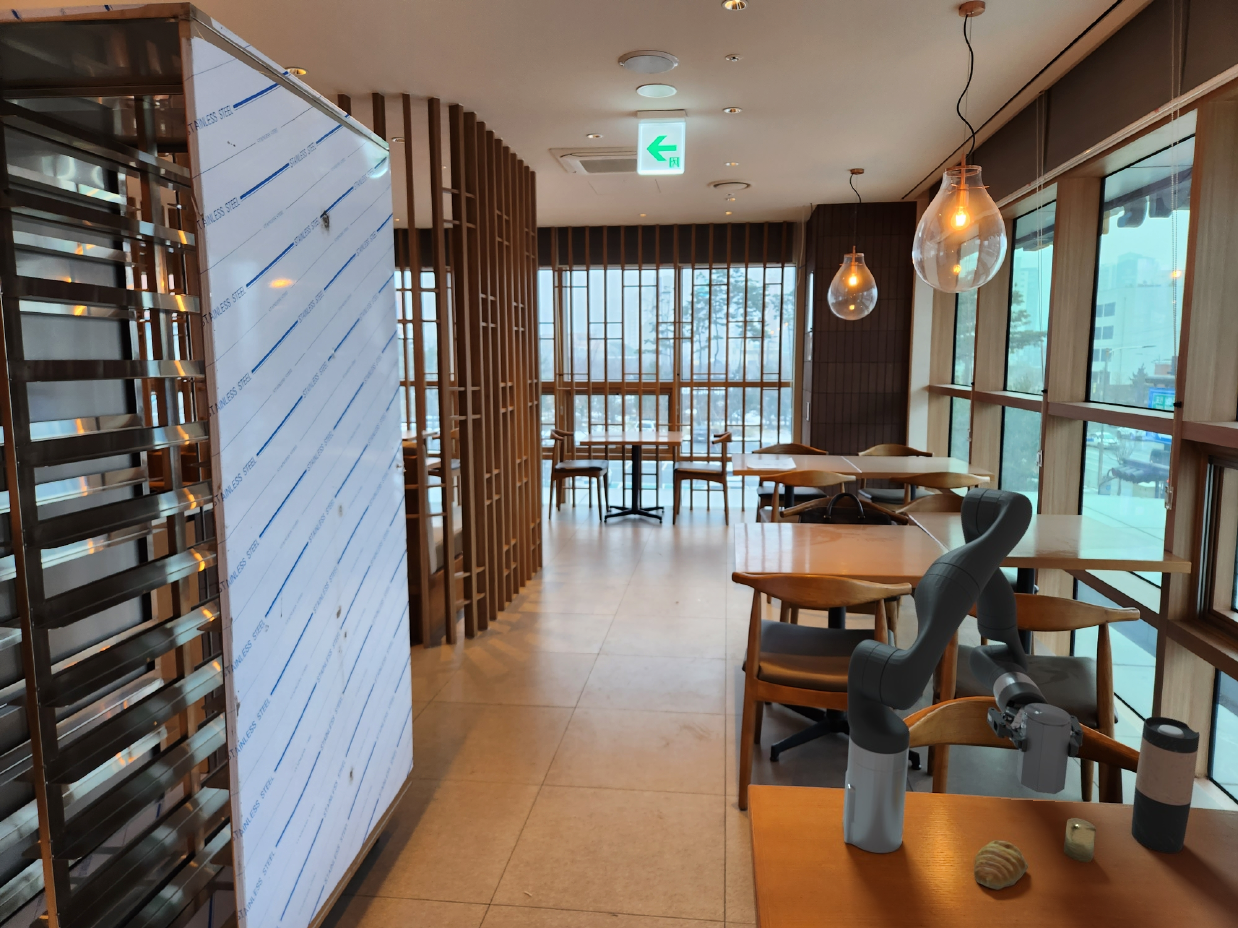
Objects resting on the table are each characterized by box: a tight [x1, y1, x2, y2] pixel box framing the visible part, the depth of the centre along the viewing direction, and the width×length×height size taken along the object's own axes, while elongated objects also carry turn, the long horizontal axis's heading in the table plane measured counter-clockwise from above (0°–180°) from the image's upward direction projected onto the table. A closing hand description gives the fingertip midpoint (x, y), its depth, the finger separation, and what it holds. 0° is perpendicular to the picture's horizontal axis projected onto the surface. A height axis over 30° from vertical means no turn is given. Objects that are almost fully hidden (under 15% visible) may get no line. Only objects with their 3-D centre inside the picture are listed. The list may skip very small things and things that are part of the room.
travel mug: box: [1131, 716, 1200, 854], centre depth 130 cm, size 8×8×20 cm
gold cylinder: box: [1063, 817, 1097, 863], centre depth 128 cm, size 4×4×5 cm
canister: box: [1016, 703, 1072, 795], centre depth 127 cm, size 6×6×12 cm
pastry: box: [973, 839, 1029, 891], centre depth 123 cm, size 9×7×4 cm
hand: (1048, 749), depth 125 cm, fingers closed on canister, 6 cm apart
